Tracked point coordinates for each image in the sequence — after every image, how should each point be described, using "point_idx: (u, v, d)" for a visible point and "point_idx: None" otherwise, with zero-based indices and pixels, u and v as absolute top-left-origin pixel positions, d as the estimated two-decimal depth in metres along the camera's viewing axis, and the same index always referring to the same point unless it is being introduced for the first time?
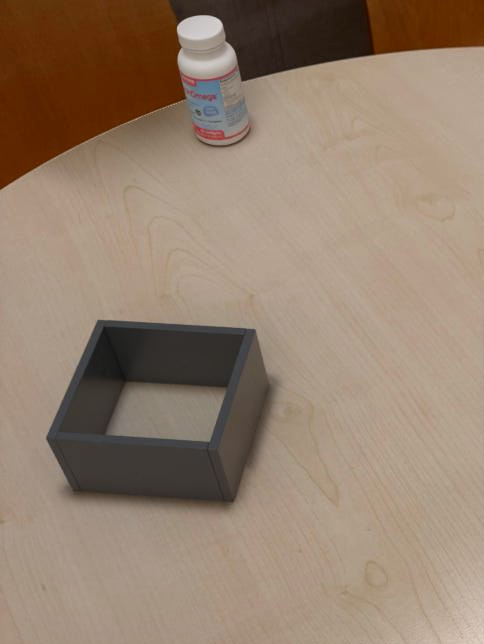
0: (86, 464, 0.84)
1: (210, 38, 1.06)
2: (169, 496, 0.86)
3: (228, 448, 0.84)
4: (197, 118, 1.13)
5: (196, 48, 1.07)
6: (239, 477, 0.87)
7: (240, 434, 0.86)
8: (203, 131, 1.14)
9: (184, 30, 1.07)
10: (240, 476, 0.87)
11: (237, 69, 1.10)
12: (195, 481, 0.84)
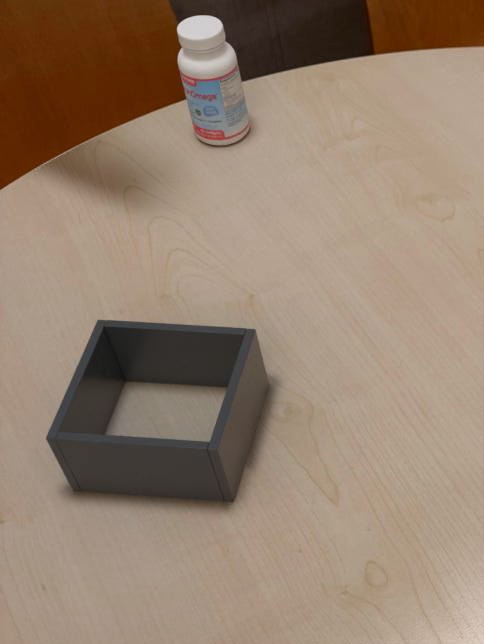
0: (86, 464, 0.84)
1: (210, 38, 1.06)
2: (169, 496, 0.86)
3: (228, 448, 0.84)
4: (197, 118, 1.13)
5: (196, 48, 1.07)
6: (239, 477, 0.87)
7: (240, 434, 0.86)
8: (203, 131, 1.14)
9: (184, 30, 1.07)
10: (240, 476, 0.87)
11: (237, 69, 1.10)
12: (195, 481, 0.84)
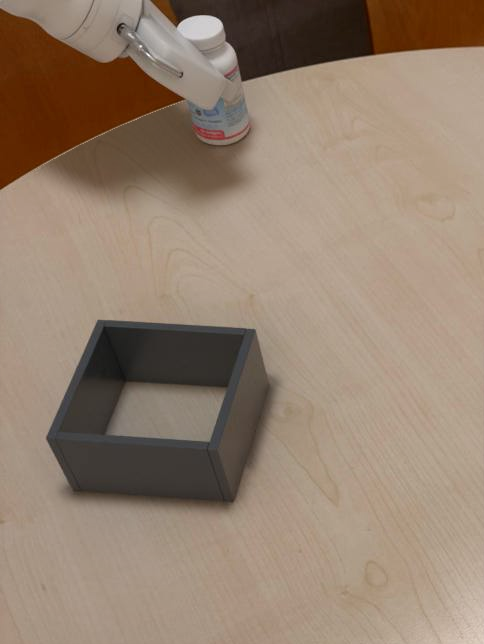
0: (86, 464, 0.84)
1: (210, 38, 1.06)
2: (169, 496, 0.86)
3: (228, 448, 0.84)
4: (197, 118, 1.13)
5: None
6: (239, 477, 0.87)
7: (240, 434, 0.86)
8: (203, 131, 1.14)
9: (184, 30, 1.07)
10: (240, 476, 0.87)
11: (237, 69, 1.10)
12: (195, 481, 0.84)
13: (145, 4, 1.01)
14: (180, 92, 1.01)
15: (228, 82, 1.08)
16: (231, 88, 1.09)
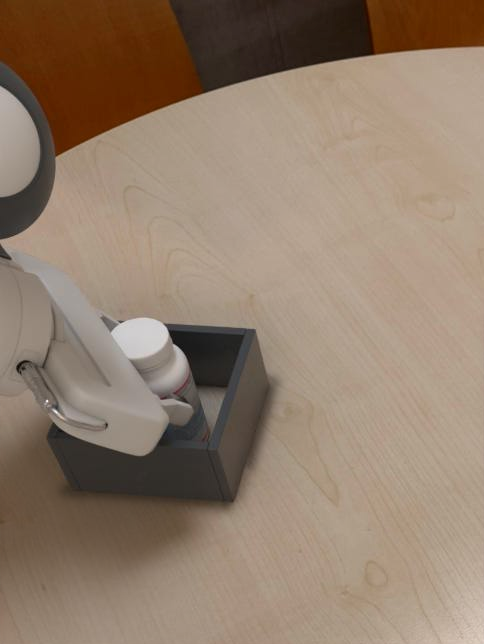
0: (86, 464, 0.84)
1: (152, 355, 0.80)
2: (169, 496, 0.86)
3: (228, 448, 0.84)
4: None
5: None
6: (239, 477, 0.87)
7: (240, 434, 0.86)
8: None
9: None
10: (240, 476, 0.87)
11: (189, 380, 0.84)
12: (195, 481, 0.84)
13: (58, 324, 0.75)
14: (105, 444, 0.75)
15: (180, 406, 0.82)
16: (185, 412, 0.82)
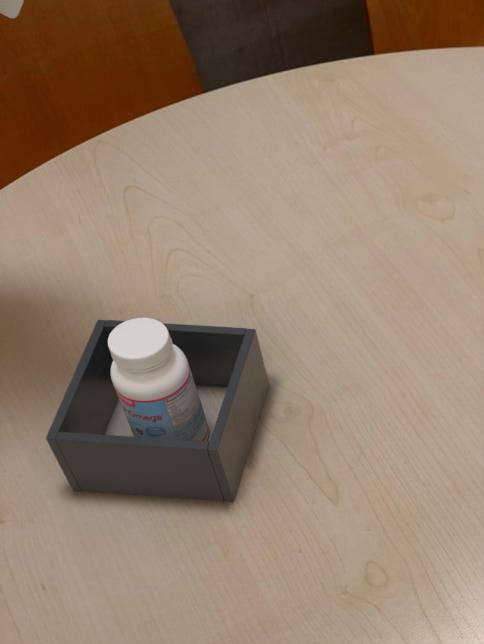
0: (86, 464, 0.84)
1: (151, 355, 0.80)
2: (169, 496, 0.86)
3: (228, 448, 0.84)
4: (138, 436, 0.87)
5: (133, 367, 0.80)
6: (239, 477, 0.87)
7: (240, 434, 0.86)
8: None
9: (116, 343, 0.81)
10: (240, 476, 0.87)
11: (189, 380, 0.84)
12: (195, 481, 0.84)
13: None
14: None
15: None
16: None
